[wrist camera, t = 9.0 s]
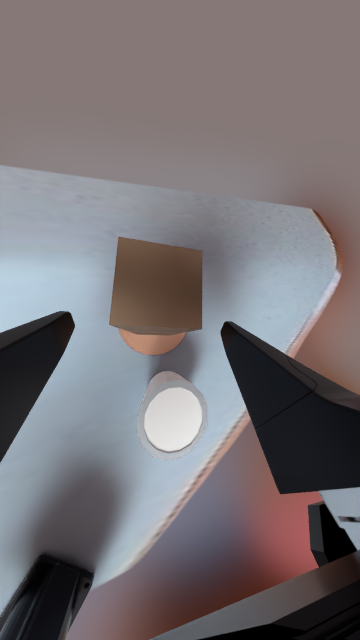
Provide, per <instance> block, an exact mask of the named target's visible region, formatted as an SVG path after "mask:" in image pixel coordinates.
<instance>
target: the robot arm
mask: <svg viewBox="0 0 360 640" xmlns="http://www.w3.org/2000/svg"><path fill="white" fill-rule="evenodd" d="M74 328H75V324H74V321H73V318H72V315H71V313H70V312H66V311H59V312H56V313H53V314H50V315H48V316H45V317H42V318H40V319H37V320H34V321H31V322H29V323H26V324H23V325H21V326H18V327H15V328H12V329H10V330H7V331H4V332H2V333H0V462H1V461H2V459H3V457H4V456H5V454H6V452H7V450H8V449H9V447H10V445H11V444H12V442H13V440H14V438H15V437H16V435H17V433H18V431H19V430H20V428H21V426H22V425H23V423H24V421H25V419H26V418H27V416H28V414H29V412H30V411H31V409H32V407H33V406H34V404H35V402H36V400H37V399H38V397H39V395H40V393H41V392H42V390H43V388H44V387H45V385H46V383H47V381H48V380H49V378H50V376H51V374H52V373H53V371H54V369H55V368H56V366H57V364H58V362H59V361H60V359H61V357H62V355H63V353H64V351H65V349H66V347H67V345H68V342H69V340H70V338H71V335H72V333H73V331H74ZM221 337H222V341H223V345H224V349H225V352H226V355H227V358H228V361H229V363H230V366H231V368H232V371H233V374H234V376H235V379H236V381H237V384H238V387H239V389H240V392H241V394H242V397H243V400H244V402H245V405H246V408H247V410H248V413H249V415H250V418H251V421H252V423H253V426H254V428H255V431H256V434H257V436H258V439H259V442H260V444H261V447H262V449H263V452H264V455H265V457H266V460H267V463H268V465H269V468H270V470H271V473H272V476H273V478H274V481H275V483H276V486H277V488H278V491H279V493H280V494H289V493H301V492H312V491H318V492H319V494H320V496H321V498H322V499H323V501H321V502H317V503H314V504H310V505H308V514H309V531H310V547H311V551H312V553H313V555H314V558H315V560H316V562H317V564H318V566H319V568H316V569H314V570H311V571H309V572H307V573H305V574H302V575H300V576H297V577H295V578H293V579H291V580H288V581H286V582H283V583H281V584H279V585H276V586H274V587H272V588H269V589H267V590H265V591H262V592H260V593H258V594H255V595H253V596H250V597H248V598H246V599H244V600H241V601H239V602H236V603H234V604H232V605H229V606H227V607H225V608H222V609H220V610H218V611H215V612H213V613H211V614H208V615H206V616H203V617H201V618H199V619H196V620H194V621H192V622H189V623H187V624H185V625H182V626H180V627H178V628H175V629H173V630H171V631H168V632H166V633H164V634H161V635H159V636H157V637H154V638H152V639H150V640H360V395H358V394H356V393H354V392H351V391H350V390H348V389H346V388H344V387H342V386H340V385H338V384H336V383H335V382H333V381H331V380H329V379H327V378H326V377H324V376H322V375H320V374H319V373H317V372H315V371H313V370H311V369H310V368H308V367H306V366H304V365H303V364H301V363H299V362H298V361H296V360H294V359H293V358H291V357H289V356H288V355H285V354H284V353H283V352H281V351H279V350H278V349H276V348H274V347H273V346H271V345H269V344H268V343H266V342H265V341H263V340H261V339H260V338H258V337H256V336H255V335H253V334H251V333H250V332H248V331H246V330H245V329H243V328H241V327H240V326H238V325H237V324H235V323H233V322H231V321H226V322H225V323H224V325H223V327H222V329H221ZM93 578H94V576H93V574H92V573H90V572H87V571H85V570H82V569H80V568H77V567H75V566H72V565H70V564H67V563H65V562H62V561H60V560H57V559H55V558H52V557H50V556H47V555H40V556H39V557H38V558H37V560H36V561H35V563H34V565H33V566H32V568H31V569H30V571H29V573H28V574H27V576H26V578H25V579H24V581H23V583H22V584H21V586H20V587H19V589H18V591H17V592H16V594H15V596H14V597H13V599H12V600H11V602H10V604H9V605H8V607H7V609H6V610H5V612H4V613H3V615H2V617H1V618H0V640H65V639H66V636H67V633H68V631H69V629H70V627H71V625H72V623H73V621H74V619H75V617H76V615H77V613H78V611H79V610H80V608H81V606H82V604H83V602H84V600H85V598H86V596H87V594H88V592H89V590H90V588H91V586H92V583H93Z"/></svg>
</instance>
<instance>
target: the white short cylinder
mask: <svg viewBox="0 0 360 640" xmlns="http://www.w3.org/2000/svg"><path fill="white" fill-rule="evenodd" d="M207 423H208V407H207V404H206V402H205V399H204V397H203V394H202V393H201V392H200V391H199V390H198V389H197V388H196V387H195V386H194V385H193V384H191V383H190V382H189V381H187V380H186V379H184V378H183V377H181V376H180V375H179V374H177V373H175V372H172V371H162V372H160V373H158V374H156V375H155V376H154V377H153V378H152V379H151V380H150V382H149V384H148V387H147V389H146V392H145V395H144V397H143V400H142V403H141V406H140V408H139V411H138V414H137V434H138V436H139V439H140V442H141V445H142V446H143V447H144V448H145V449H146V450H147V451H148V452H149V453H150V454H151V455H152V456H153V457H156V458H160V459H163V460H172V459H178V458H182V457H183V456H185V455H186V454H188V453H189V452H191V451H192V450H194V448H195V447H196V446H197V444H198V443H199V442H200V440H201V439H202V438H203V436H204V433H205V429H206V426H207Z"/></svg>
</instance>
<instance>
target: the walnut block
mask: <svg viewBox="0 0 360 640" xmlns="http://www.w3.org/2000/svg"><path fill="white" fill-rule="evenodd" d="M109 325H112V326H114V327H117V328H120V329H123V330H126V331H128V332H131V333H134V334H137V335H162V336H171V335H175V334H180V333H185V332H190V331H194V330H199V329H202V251H199V250H193V249H187V248H181V247H176V246H170V245H164V244H158V243H152V242H147V241H141V240H135V239H129V238H123V237H119V238H118V247H117V256H116V266H115V275H114V285H113V294H112V303H111V313H110V322H109Z"/></svg>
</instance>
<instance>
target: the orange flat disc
mask: <svg viewBox="0 0 360 640" xmlns="http://www.w3.org/2000/svg"><path fill="white" fill-rule="evenodd" d="M119 331H120V334H121V336H122V338H123V339H124V341H125V342H126V343H127V344H128V345H129V346H130V347H131V348H132V349H134V350H135V351H137V352H140V353H142V354H147V355H159V354H163V353H166V352H168V351H171V350H172V349H174V348H175V347H176V346H177V345H178V344H179V343H180V342H181V341H182V339H183V337H184V336H185V333H186V332H185V333H180V334H175V335H171V336H162V335H137V334H134V333H131V332H128V331H126V330H123V329H120V328H119Z"/></svg>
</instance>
